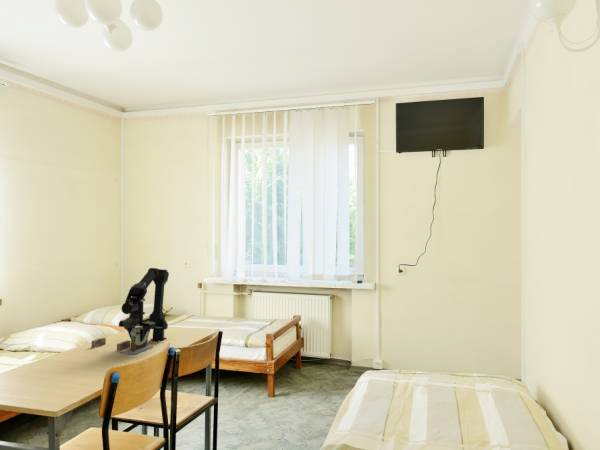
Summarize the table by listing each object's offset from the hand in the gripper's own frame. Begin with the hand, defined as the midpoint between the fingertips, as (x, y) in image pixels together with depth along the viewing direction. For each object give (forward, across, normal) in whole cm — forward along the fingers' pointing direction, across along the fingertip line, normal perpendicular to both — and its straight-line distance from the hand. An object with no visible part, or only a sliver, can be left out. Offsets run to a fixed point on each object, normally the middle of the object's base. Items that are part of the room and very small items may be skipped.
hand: (136, 341), depth 234 cm
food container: (+4, -1, +1) cm, 4 cm away
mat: (+5, 0, 0) cm, 5 cm away
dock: (+5, -16, 0) cm, 17 cm away
